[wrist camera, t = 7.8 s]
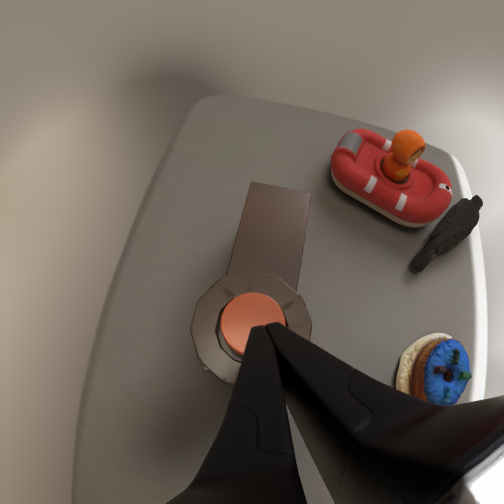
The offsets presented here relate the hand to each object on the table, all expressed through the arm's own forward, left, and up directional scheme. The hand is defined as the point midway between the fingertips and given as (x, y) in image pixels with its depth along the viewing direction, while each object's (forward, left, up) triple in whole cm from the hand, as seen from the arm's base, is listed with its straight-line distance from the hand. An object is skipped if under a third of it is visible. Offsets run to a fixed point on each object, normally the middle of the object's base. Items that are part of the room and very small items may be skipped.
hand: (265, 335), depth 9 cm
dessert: (+3, -15, -13) cm, 20 cm away
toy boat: (+19, -6, -13) cm, 23 cm away
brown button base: (+4, +1, -12) cm, 13 cm away
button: (+1, +1, -5) cm, 6 cm away
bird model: (+17, -11, -11) cm, 23 cm away
